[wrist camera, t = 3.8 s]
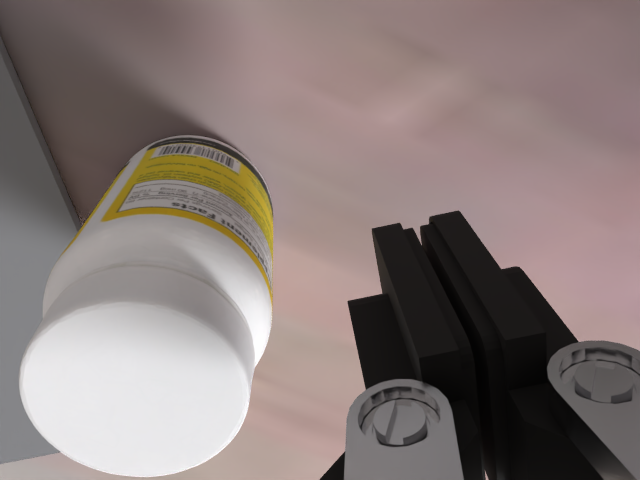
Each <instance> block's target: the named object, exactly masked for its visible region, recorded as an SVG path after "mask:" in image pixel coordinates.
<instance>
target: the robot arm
mask: <svg viewBox="0 0 640 480" xmlns="http://www.w3.org/2000/svg"><path fill="white" fill-rule="evenodd" d="M420 233H421V241H422V245H421V243H420V241H419V239H418V237H417V235H416V233H415V231H414V229H413V228H409V229H404V230H403V228H402V226H401V224H400V223H397V224H392V225H387V226H382V227H377V228H373V229H372V235H373V242H374V247H375V253H376V259H377V265H378V270H379V276H380V282H381V288H382V294H379V295H375V296H370V297H365V298H360V299H355V300H350V301H348V306H349V311H350V316H351V321H352V325H353V330H354V335H355V340H356V345H357V350H358V354H359V359H360V364H361V369H362V373H363V378H364V383H365V388H366V390H365V391H364V392H363V393H362V394H360V395H359V396H358V397H357V398H356V399H355V401H354V402H353V404H352V405H351V407H350V409H349V412H348V416H347V425H346V446H345V452H344V453H343V454H342V455H341V456H340V458H339V459H338V460H337V461H336V462H335V463H334V464H333V465H332V466H331V468H330V469H329V470H328V471H327V472H326V473H325V474H324V475H323V476H322V477H321V479H320V480H486V479H485V471H486V474H487V476H488V479H489V480H640V351H639V350H637V349H634V348H631V347H629V346H626V345H623V344H620V343H614V342H609V341H583V342H578V340H577V339H576V338H575V337H574V335H573V334H572V333H571V331H570V330H569V329H568V328H567V326H566V325H565V324H564V322H563V321H562V320H561V319H560V317H559V316H558V315H557V313H556V312H555V311H554V310H553V308H552V307H551V306H550V304H549V303H548V302H547V301H546V299H545V298H544V297H543V296H542V294H541V293H540V292H539V290H538V289H537V288H536V287H535V285H534V284H533V283H532V281H531V280H530V279H529V278H528V276H527V275H526V274H525V272H524V271H523V270H522V269H521V268H520V267H511V268H506V269H501V268H500V267H499V265H498V264H497V263H496V261H495V260H494V258H493V257H492V256H491V254H490V253H489V251H488V250H487V249H486V247H485V246H484V244H483V243H482V242H481V240H480V239H479V237H478V236H477V235H476V233H475V232H474V230H473V229H472V228H471V226H470V225H469V223H468V222H467V221H466V219H465V218H464V217H463V215H462V214H461V212H460V211H454V212H449V213H445V214H440V215H435V216H430V218H429V224H428V225H423V226H421V227H420Z"/></svg>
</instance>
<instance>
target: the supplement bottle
mask: <svg viewBox="0 0 640 480" xmlns="http://www.w3.org/2000/svg"><path fill="white" fill-rule="evenodd" d="M272 278H273V209H272V200H271V196H270V193H269V190H268V187H267V185H266V182H265V180H264V179H263V177H262V175H261V174H260V172H259V171H258V169H257V168H256V167H255V166H254V165H253V164H252V162H251V161H250V160H248V159H247V158H246V157H245V156H244V155H243V154H242V153H240V152H239V151H237V150H236V149H234V148H233V147H231V146H229V145H227V144H225V143H223V142H221V141H218V140H215V139H212V138H208V137H203V136H195V135H180V136H173V137H168V138H165V139H161V140H159V141H156V142H154V143H152V144H150V145H148V146H146V147H144V148H143V149H142V150H140V151H139V152H138V153H136V154H135V155H134V156H133V157H132V158H131V159H130V160H129V161H128V162H127V163H126V164H125V166H124V167H123V168H122V170H121V171H120V172H119V173H118V175H117V177H116V178H115V179H114V181H113V182H112V184H111V185H110V187H109V188H108V190H107V191H106V192H105V194H104V195H103V197H102V198H101V200H100V201H99V203H98V204H97V206H96V207H95V209H94V210H93V212H92V213H91V214H90V216H89V217H88V219H87V220H86V221H85V223H84V224H83V226H82V227H81V229H80V230H79V231H78V233H77V234H76V236H75V237H74V238H73V240H72V241H71V242H70V244H69V245H68V247H67V248H66V249H65V250H64V252H63V253H62V254H61V256H60V257H59V259H58V261H57V262H56V264H55V265H54V267H53V269H52V271H51V273H50V275H49V278H48V281H47V284H46V287H45V293H44V298H43V320H42V322H41V323H40V325H39V327H38V328H37V330H36V332H35V333H34V335H33V337H32V338H31V340H30V342H29V344H28V345H27V347H26V350H25V352H24V355H23V357H22V361H21V365H20V371H19V389H20V396H21V400H22V403H23V406H24V409H25V411H26V413H27V415H28V417H29V419H30V420H31V422H32V423H33V425H34V426H35V428H36V429H37V430H38V432H39V433H40V434H41V435H42V436H43V437H44V438H45V439H46V440H47V441H48V442H49V443H50V444H51V445H52V446H54V447H55V448H56V449H57V450H59V451H60V452H61V453H63V454H64V455H66V456H68V457H69V458H71V459H73V460H74V461H76V462H79V463H81V464H83V465H85V466H88V467H90V468H92V469H95V470H99V471H102V472H106V473H111V474H116V475H123V476H134V477H155V476H162V475H168V474H173V473H178V472H181V471H184V470H187V469H189V468H193V467H195V466H197V465H200V464H202V463H204V462H205V461H207V460H209V459H210V458H212V457H214V456H215V455H216V454H218V453H219V452H220V451H221V450H223V449H224V448H225V447H226V446H227V445H228V444H229V443H230V442H231V440H232V439H233V438H234V437H235V435H236V434H237V433H238V431H239V429H240V427H241V425H242V423H243V422H244V419H245V416H246V414H247V411H248V406H249V400H250V392H251V385H252V378H253V374H254V368H255V366H256V365H257V363H258V362H259V360H260V358H261V356H262V354H263V353H264V350H265V347H266V345H267V342H268V338H269V334H270V329H271V323H272V297H273V284H272Z"/></svg>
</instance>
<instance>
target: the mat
mask: <svg viewBox="0 0 640 480" xmlns="http://www.w3.org/2000/svg"><path fill="white" fill-rule="evenodd" d="M81 227H82V226H81V223H80V221H79V219H78V216H77V214H76V212H75V209H74V207H73V205H72V202H71V200H70V198H69V195H68V193H67V191H66V188H65V186H64V183H63V181H62V179H61V176H60V174H59V172H58V169H57V167H56V165H55V162H54V160H53V158H52V155H51V153H50V151H49V148H48V146H47V144H46V141H45V139H44V137H43V134H42V132H41V130H40V127H39V125H38V123H37V120H36V118H35V116H34V113H33V111H32V109H31V106H30V104H29V102H28V99H27V97H26V95H25V92H24V90H23V87H22V85H21V83H20V80H19V78H18V76H17V73H16V71H15V69H14V66H13V64H12V62H11V59H10V57H9V55H8V52H7V50H6V48H5V45H4V43H3V41H2V38H1V36H0V464H3V463H8V462H13V461H18V460H24V459H29V458H34V457H39V456H44V455H49V454H54V453H59V452H60V451H59V450H57V449H56V448H55V447H54V446H52V445H51V444H50V443H49V442H48V441H47V440H46V439H45V438H44V437H43V436H42V435H41V434H40V433H39V432H38V430H37V429H36V428H35V426H34V425H33V423H32V422H31V420H30V419H29V417H28V415H27V413H26V411H25V409H24V406H23V403H22V400H21V396H20V389H19V371H20V365H21V361H22V357H23V355H24V352H25V350H26V347H27V345H28V344H29V342H30V340H31V338H32V337H33V335H34V333H35V332H36V330H37V328H38V327H39V325H40V323H41V322H42V320H43V298H44V293H45V287H46V284H47V281H48V278H49V275H50V273H51V271H52V269H53V267H54V265H55V264H56V262H57V261H58V259H59V257H60V256H61V254H62V253H63V252H64V250H65V249H66V248H67V247H68V245H69V244H70V242H71V241H72V240H73V238H74V237H75V236H76V234H77V233H78V231H79V230H80V229H81Z"/></svg>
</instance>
